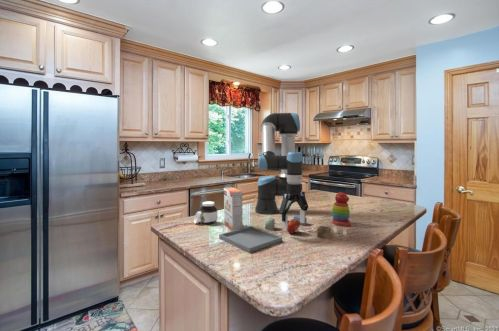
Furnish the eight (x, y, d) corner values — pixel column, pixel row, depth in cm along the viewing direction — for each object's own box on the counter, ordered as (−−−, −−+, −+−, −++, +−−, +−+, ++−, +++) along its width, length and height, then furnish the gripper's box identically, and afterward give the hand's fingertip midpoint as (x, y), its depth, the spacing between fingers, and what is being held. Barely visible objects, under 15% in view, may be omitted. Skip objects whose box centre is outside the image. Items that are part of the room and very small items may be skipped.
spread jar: (219, 223, 150) (219, 202, 149) (203, 227, 141) (203, 206, 140) (206, 218, 158) (206, 199, 157) (190, 223, 150) (190, 202, 149)
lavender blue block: (293, 223, 149) (293, 216, 149) (297, 222, 152) (297, 215, 152) (302, 225, 145) (302, 218, 145) (306, 224, 148) (306, 217, 147)
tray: (219, 238, 125) (219, 234, 125) (250, 229, 138) (250, 226, 138) (249, 253, 108) (249, 248, 108) (282, 241, 121) (282, 237, 121)
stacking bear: (352, 227, 143) (353, 194, 141) (332, 225, 145) (333, 193, 143) (348, 221, 153) (349, 191, 152) (330, 220, 155) (331, 190, 154)
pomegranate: (300, 235, 136) (285, 222, 139) (308, 226, 132) (293, 212, 135) (294, 241, 129) (279, 227, 132) (303, 232, 126) (287, 217, 129)
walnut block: (317, 237, 127) (317, 228, 126) (320, 234, 131) (320, 225, 130) (327, 239, 124) (327, 230, 124) (330, 236, 128) (330, 227, 128)
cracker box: (223, 224, 147) (223, 187, 145) (233, 223, 149) (233, 186, 147) (231, 232, 134) (231, 191, 132) (242, 230, 136) (242, 190, 134)
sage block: (263, 228, 140) (263, 219, 140) (269, 226, 143) (269, 217, 143) (269, 230, 136) (269, 221, 136) (276, 228, 140) (276, 219, 139)
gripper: (283, 186, 120) (282, 232, 121) (315, 181, 136) (315, 222, 137) (271, 184, 125) (271, 228, 127) (303, 180, 142) (303, 219, 143)
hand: (293, 225), depth 132 cm, fingers open, 13 cm apart
